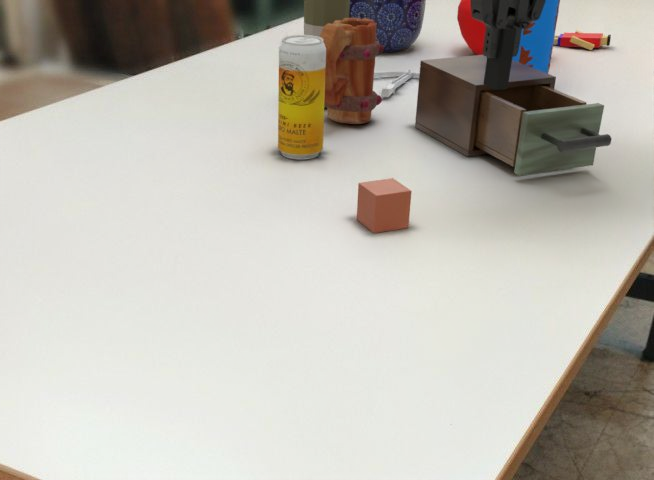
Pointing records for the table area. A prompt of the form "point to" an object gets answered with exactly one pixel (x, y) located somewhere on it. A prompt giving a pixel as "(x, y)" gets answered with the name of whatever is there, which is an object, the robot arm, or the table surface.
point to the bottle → (323, 14)
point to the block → (383, 205)
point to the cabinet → (461, 97)
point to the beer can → (301, 96)
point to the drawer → (538, 129)
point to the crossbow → (397, 82)
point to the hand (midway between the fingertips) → (495, 86)
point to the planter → (392, 20)
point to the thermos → (539, 39)
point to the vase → (471, 28)
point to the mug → (350, 69)
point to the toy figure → (582, 40)
